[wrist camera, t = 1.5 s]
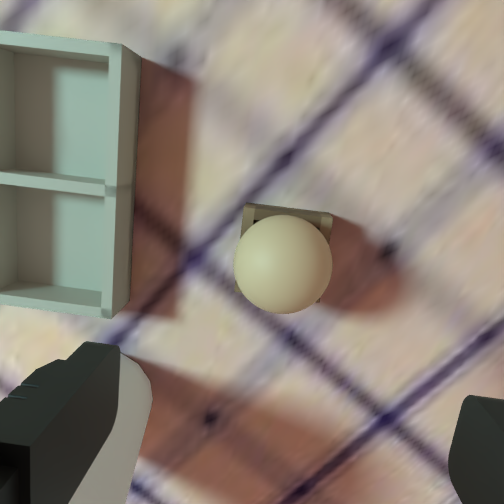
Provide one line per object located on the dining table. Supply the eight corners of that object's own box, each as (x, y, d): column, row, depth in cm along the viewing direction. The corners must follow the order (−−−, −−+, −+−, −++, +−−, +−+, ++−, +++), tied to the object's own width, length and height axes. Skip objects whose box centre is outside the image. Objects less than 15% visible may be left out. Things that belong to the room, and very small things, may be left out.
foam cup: (109, 476, 30) (-14, 714, 17) (9, 387, 29) (-200, 573, 16) (204, 397, 28) (144, 601, 15) (102, 298, 27) (-55, 431, 14)
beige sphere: (243, 203, 24) (234, 217, 19) (333, 214, 23) (347, 231, 19) (233, 288, 25) (222, 322, 20) (319, 299, 25) (329, 336, 20)
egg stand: (246, 202, 25) (243, 207, 23) (329, 212, 25) (333, 218, 23) (237, 280, 26) (234, 291, 24) (316, 291, 26) (319, 302, 24)
